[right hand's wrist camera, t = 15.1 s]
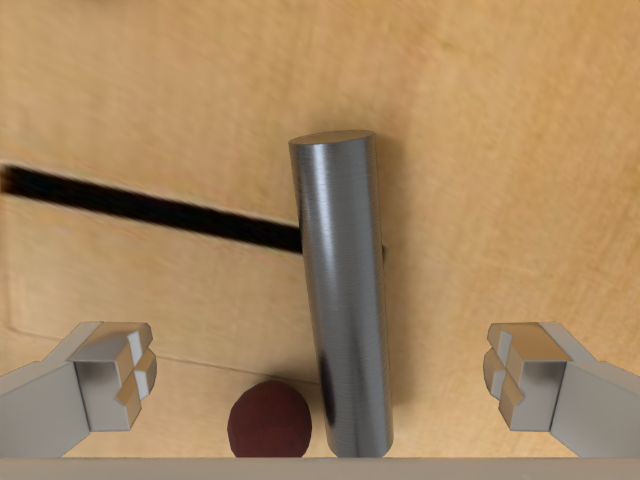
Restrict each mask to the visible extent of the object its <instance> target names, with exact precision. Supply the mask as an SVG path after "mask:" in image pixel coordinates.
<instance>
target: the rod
mask: <svg viewBox="0 0 640 480" xmlns="http://www.w3.org/2000/svg"><path fill="white" fill-rule="evenodd" d="M289 151H290V158H291V166H292V174H293V181H294V189H295V197H296V204H297V212H298V220H299V227H300V235H301V243H302V250H303V258H304V266H305V273H306V281H307V289H308V296H309V304H310V312H311V319H312V327H313V335H314V342H315V350H316V358H317V365H318V373H319V381H320V388H321V396H322V404H323V411H324V419H325V427H326V434H327V441H328V445H329V447H330V449H331V451H332V452H333V453H334V454H335V455H336V456H337V457H339V458H381V457H383V456H384V455H385V454H386V453H387V452H388V451H389V449H390V448H391V446H392V443H393V439H394V436H393V419H392V403H391V387H390V370H389V354H388V338H387V322H386V305H385V289H384V273H383V257H382V240H381V224H380V208H379V192H378V175H377V159H376V143H375V133H374V132H373V131H367V130H348V131H335V132H326V133H318V134H312V135H307V136H302V137H298V138H295V139H292V140H290V141H289Z"/></svg>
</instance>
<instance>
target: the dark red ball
mask: <svg viewBox="0 0 640 480" xmlns="http://www.w3.org/2000/svg"><path fill="white" fill-rule="evenodd" d="M227 431H228V437H229V442H230V446H231V450H232V452H233V453H234V455H235V456H236V458H301V457H302V456H303V455H304V454H305V452H306V450H307V448H308V446H309V443H310V439H311V432H312V421H311V416H310V411H309V407H308V405H307V403H306V401H305V400H304V398H303V397H302V395H301V394H300V393H299V392H297V391H296V390H295V389H294V388H292V387H290V386H289V385H287V384H284V383H282V382H277V381H268V382H264V383H260V384H257V385H256V386H254V387H252V388H251V389H249V390H247V391H246V392H244V393H243V395H242V396H241V397H240V398H239V399H238V400H237V402H236V403H235V404H234V406H233V407H232V409H231V412H230V416H229V420H228V428H227Z"/></svg>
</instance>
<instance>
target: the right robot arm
mask: <svg viewBox="0 0 640 480" xmlns="http://www.w3.org/2000/svg"><path fill="white" fill-rule="evenodd" d="M152 340H153V337H152V332H151V327H150V326H149V325H148V324H147V323H130V322H83V323H80V324H79V325H78V326H77V327H76V328H75V329H74V330H73V331H72V332H71V333H70V334H69V335H68V336H67V337H66V338H65V339H64V340H63V341H62V342H61V343H60V344H59V345H58V346H57V347H56V348H55V349H54V350H53V351H52V352H51V353H50V354H49V355H48V356H47V357H46V358H44V359H43V360H42V361H34V362H32V363H30V364H27V365H25V366H23V367H21V368H18V369H16V370H14V371H12V372H9V373H7V374H5V375H3V376H0V480H640V376H637V375H635V374H633V373H631V372H628V371H626V370H624V369H622V368H619V367H617V366H615V365H613V364H610V363H608V362H606V361H598V360H597V359H596V358H595V357H594V356H593V355H592V354H591V353H590V352H589V351H588V350H587V349H586V348H585V347H584V346H583V345H582V344H581V343H580V342H579V341H578V340H577V339H576V338H575V337H574V336H573V335H572V334H571V333H570V332H569V331H568V330H567V329H566V328H565V327H564V326H563V325H562V324H560V323H558V322H527V323H494V324H491V326H490V328H489V331H488V337H487V340H488V341H489V343H490V344H491V346H492V348H491V349H490V350H489V351H488V352H487V353H486V354H485V356H484V364H483V371H484V380H485V383H486V386H487V389H488V390H489V392H490V394H491V395H492V396H493V397H495V398H496V399H498V400H499V401H500V402H499V408H498V409H499V411H500V413H501V415H502V416H503V418H504V420H505V422H506V424H507V425H508V427H509V429H510V431H530V432H550V434H551V435H552V436H553V437H555V438H556V439H557V440H558V441H560V442H561V443H562V444H563V445H565V446H566V447H567V448H569V449H570V450H571V451H572V452H574V453H575V454H576V455H577V456H579V457H580V458H60V457H61V456H63V455H64V454H65V453H66V452H68V451H69V450H70V449H72V448H73V447H74V446H75V445H77V444H78V443H79V442H81V441H82V440H83V439H84V438H86V437H87V436H88V435H89V434H90V432H110V431H130V429H131V427H132V425H133V424H134V422H135V420H136V418H137V416H138V415H139V413H140V411H141V409H142V408H141V402H140V401H141V400H142V399H144V398H145V397H147V396H148V395H149V394H150V392H151V390H152V388H153V386H154V383H155V378H156V374H157V363H156V356H155V354H154V353H153V352H152V351H151V350H150V349H149V348H148V346H149V344H150V343H151V341H152Z"/></svg>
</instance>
